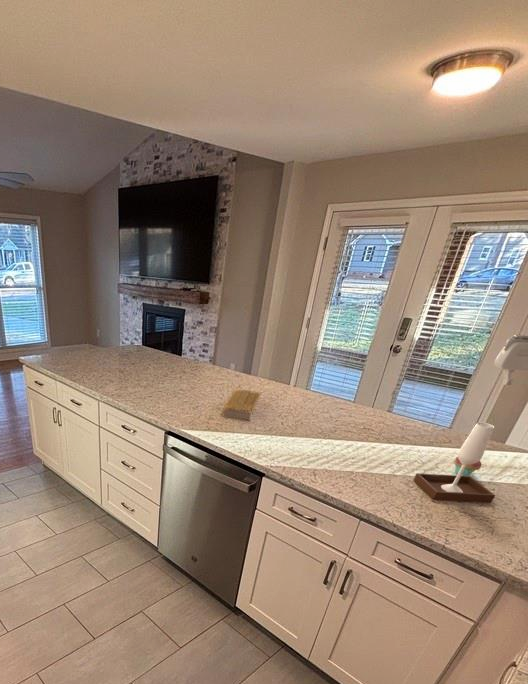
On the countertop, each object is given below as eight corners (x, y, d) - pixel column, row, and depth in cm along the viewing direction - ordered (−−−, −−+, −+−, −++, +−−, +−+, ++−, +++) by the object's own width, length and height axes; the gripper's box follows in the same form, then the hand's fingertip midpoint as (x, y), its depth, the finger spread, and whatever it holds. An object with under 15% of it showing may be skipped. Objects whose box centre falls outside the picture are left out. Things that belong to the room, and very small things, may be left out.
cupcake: (453, 476, 156) (469, 447, 149) (445, 466, 163) (460, 438, 156) (479, 480, 154) (495, 450, 148) (470, 469, 161) (485, 441, 155)
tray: (466, 483, 152) (470, 476, 150) (491, 502, 140) (495, 495, 139) (413, 480, 152) (416, 473, 150) (433, 499, 141) (436, 492, 139)
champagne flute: (464, 489, 146) (499, 425, 133) (461, 496, 142) (496, 430, 128) (443, 482, 150) (475, 419, 136) (439, 489, 145) (471, 424, 132)
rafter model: (233, 395, 228) (235, 384, 224) (259, 399, 224) (262, 388, 221) (221, 416, 200) (223, 403, 197) (251, 421, 196) (253, 408, 193)
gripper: (518, 336, 113) (493, 386, 121) (594, 339, 113) (564, 389, 120) (502, 332, 118) (479, 380, 126) (575, 335, 118) (548, 383, 126)
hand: (521, 385), depth 123 cm, fingers open, 8 cm apart
